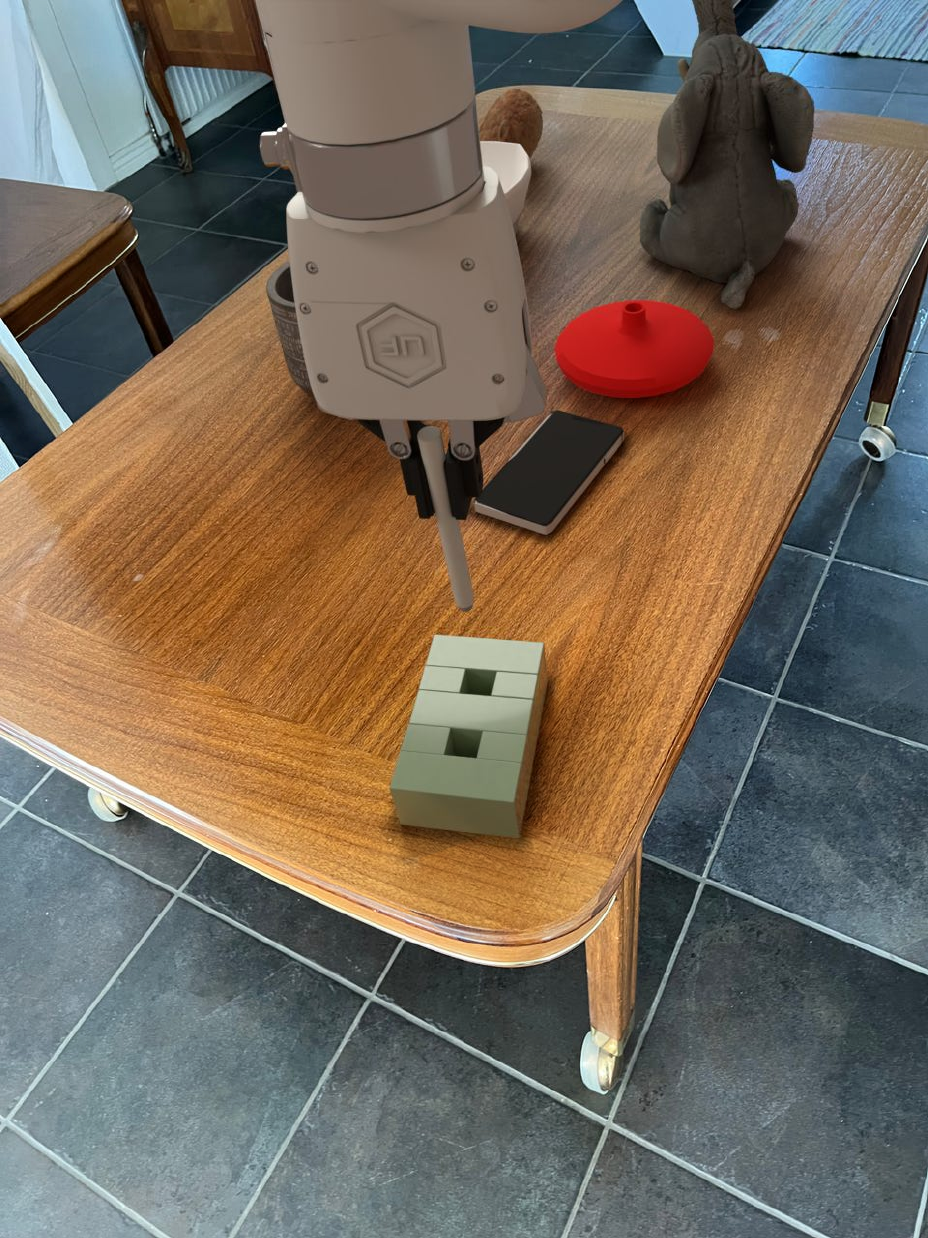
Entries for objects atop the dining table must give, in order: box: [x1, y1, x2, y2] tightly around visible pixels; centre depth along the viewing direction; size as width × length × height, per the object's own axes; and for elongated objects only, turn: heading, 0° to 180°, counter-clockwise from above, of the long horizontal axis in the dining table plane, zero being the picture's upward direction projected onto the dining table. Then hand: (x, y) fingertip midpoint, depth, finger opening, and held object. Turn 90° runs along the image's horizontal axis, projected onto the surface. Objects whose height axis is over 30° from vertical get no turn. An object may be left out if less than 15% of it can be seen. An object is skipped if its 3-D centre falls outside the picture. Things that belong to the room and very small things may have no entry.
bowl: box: [480, 141, 532, 237], centre depth 118 cm, size 18×18×9 cm
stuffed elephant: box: [639, 0, 815, 310], centre depth 103 cm, size 19×21×27 cm
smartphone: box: [473, 409, 625, 535], centre depth 88 cm, size 8×1×15 cm
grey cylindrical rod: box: [417, 425, 475, 613], centre depth 53 cm, size 1×1×14 cm
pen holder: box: [388, 633, 549, 839], centre depth 67 cm, size 13×8×4 cm, turn 169°
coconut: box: [479, 88, 544, 160], centre depth 131 cm, size 10×13×10 cm
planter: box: [265, 260, 317, 403], centre depth 98 cm, size 12×12×13 cm
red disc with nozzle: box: [553, 299, 715, 399], centre depth 96 cm, size 16×16×7 cm
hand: (448, 501), depth 52 cm, fingers closed on grey cylindrical rod, 1 cm apart
